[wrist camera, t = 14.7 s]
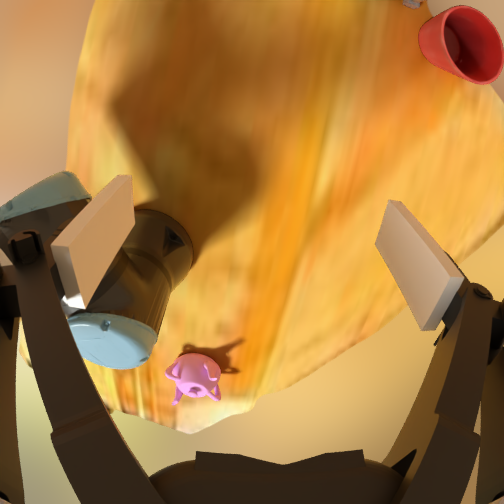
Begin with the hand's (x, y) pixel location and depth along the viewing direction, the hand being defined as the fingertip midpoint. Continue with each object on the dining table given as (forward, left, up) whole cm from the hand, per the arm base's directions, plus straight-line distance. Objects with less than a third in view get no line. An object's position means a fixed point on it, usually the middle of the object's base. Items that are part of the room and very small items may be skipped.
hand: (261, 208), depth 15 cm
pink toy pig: (-7, -56, -30) cm, 65 cm away
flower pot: (+24, +18, -30) cm, 43 cm away
